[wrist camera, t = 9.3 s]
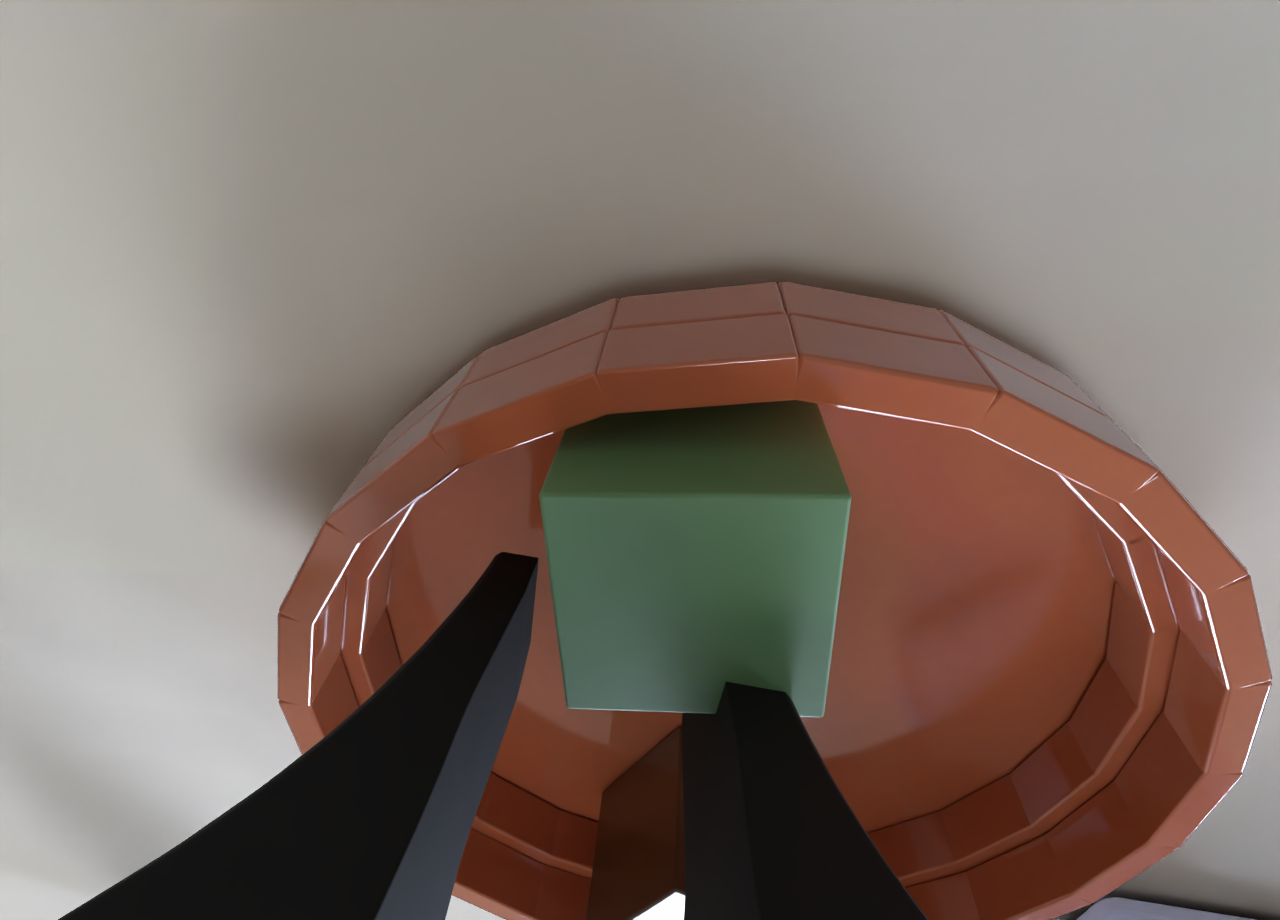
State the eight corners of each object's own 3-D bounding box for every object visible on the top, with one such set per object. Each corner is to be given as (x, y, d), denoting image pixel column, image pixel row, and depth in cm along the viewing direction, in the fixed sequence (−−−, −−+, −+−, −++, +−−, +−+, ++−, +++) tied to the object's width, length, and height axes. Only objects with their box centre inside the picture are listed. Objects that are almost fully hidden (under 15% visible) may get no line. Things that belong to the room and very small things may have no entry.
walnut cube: (801, 781, 16) (822, 948, 13) (714, 839, 18) (716, 999, 15) (680, 724, 15) (675, 890, 13) (601, 791, 17) (580, 950, 14)
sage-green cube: (793, 559, 12) (824, 720, 9) (598, 557, 12) (565, 710, 9) (808, 376, 11) (854, 495, 7) (583, 377, 11) (537, 493, 8)
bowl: (948, 882, 19) (984, 1012, 17) (374, 790, 19) (324, 908, 17) (1384, 377, 10) (1599, 495, 8) (303, 182, 10) (169, 241, 7)
